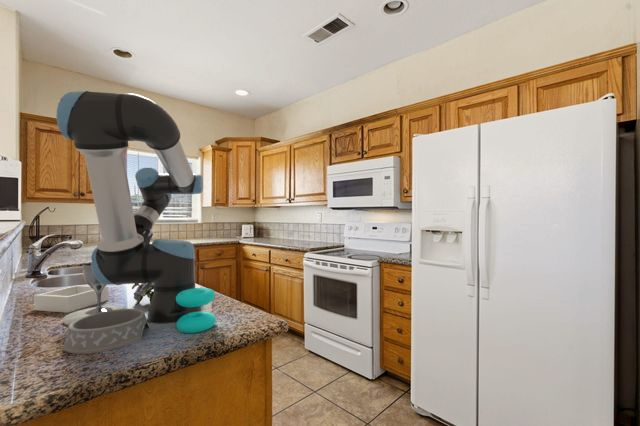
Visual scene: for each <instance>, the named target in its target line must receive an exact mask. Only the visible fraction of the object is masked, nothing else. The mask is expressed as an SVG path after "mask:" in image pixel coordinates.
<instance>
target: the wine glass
mask: <svg viewBox="0 0 640 426" xmlns="http://www.w3.org/2000/svg"><path fill="white" fill-rule="evenodd" d="M82 275H83V280H84V281H85V283H86V285H87V286H90V287H91V288H93V289H94V290H95V292H96V294H97V300H98V304H97V306H96V307H97V308H95V309H92V310H89V311H87V312H85V314H89V315H92V314H95V313H99V312H104V311H110V310H112V309H113V308H112V307H101V306H102V304H101V303H102V302H101V294H102V291H103V289H104V288H105V287H107V285H106V284H102V283H100V282H99V281H98V280H97V279H96V278H95V276H94V274H93V272H92V269H91V262H86V263H82Z"/></svg>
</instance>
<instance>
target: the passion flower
mask: <svg viewBox="0 0 640 426" xmlns="http://www.w3.org/2000/svg"><path fill="white" fill-rule="evenodd" d="M137 286H138V287H137ZM135 287H137V288H136V290H135V291H134V292H133V295H134V296H133V299H134V300H135V301H136V302H135V304H134V306H139V304H141V303H140V302H141V301H143V299H144V297H145V296H147V298H148V299H149V304H150V303H151V300H152V296H153V293H154V284H153V283H152V282H151V283H134V284H132V286H131V289H132V290H133V289H135ZM152 290H153V291H152Z"/></svg>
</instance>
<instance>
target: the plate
mask: <svg viewBox="0 0 640 426" xmlns="http://www.w3.org/2000/svg"><path fill="white" fill-rule="evenodd" d="M101 307H112V308H113V309H112V310H117V309H125V308H124V307H123V306H120V305H104V306H102V305H101ZM95 308H97V306H95V307H88V308H82V309H78V310H75V311H72V312H69V313H68V314H66V315H65V316H64V317H63V318H62V319H63V321H62V322H63V324H64V325H66V326H69V325H70V324H71V323H72V322H74V321H76V320H78V319H80V318H82V317H85V316H88V315H89V314H85V312H87V311H89V310H92V309H95Z"/></svg>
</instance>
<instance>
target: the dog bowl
mask: <svg viewBox="0 0 640 426" xmlns="http://www.w3.org/2000/svg"><path fill="white" fill-rule="evenodd" d="M147 327H148V328H147ZM145 328H147V329H150V326H149V322H148V318H147V315H146V312H145V311H143V310H142V309H137V308H124V309H117V310H110V311H104V312H99V313H95V314H92V315H88V316H85V317H82V318H80V319H78V320H76V321H74V322H72V323H71V324H70V325H68V327H67V331H66V334H65V340H64V342H63V343H64V344H63V347H62V348H63V350H64V352H67V353H72V354H78V355H79V354H95V353H101V352H108V351H113V350H115V349H119V348H124V347H127V346H129V345H132V344H135V343H136V342H139V341H140V340H142V338H143V331H144V329H145Z"/></svg>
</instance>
